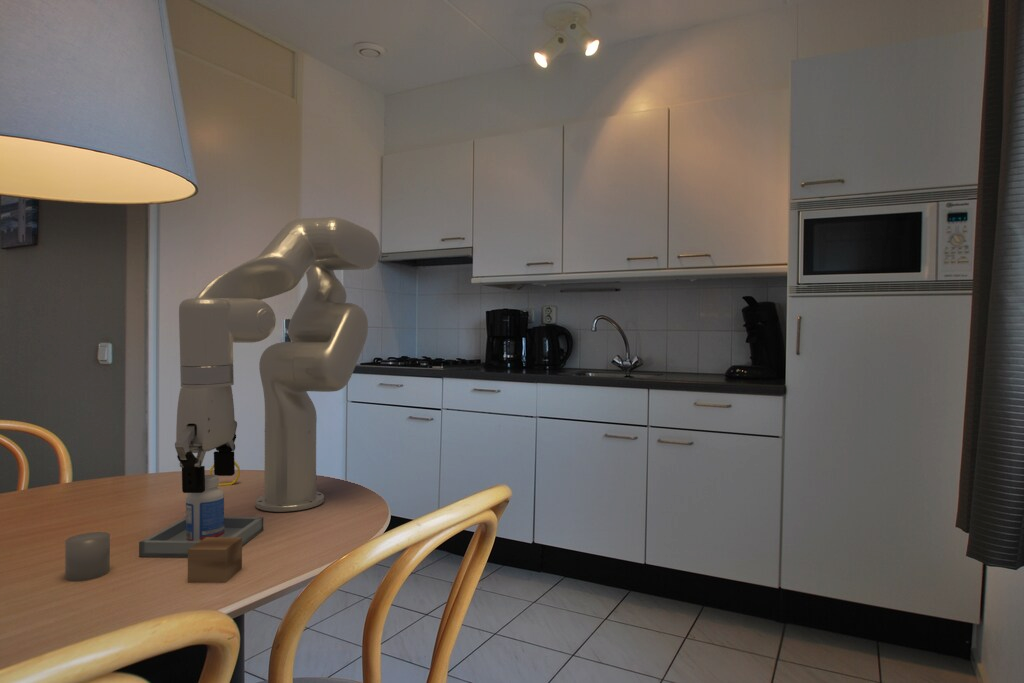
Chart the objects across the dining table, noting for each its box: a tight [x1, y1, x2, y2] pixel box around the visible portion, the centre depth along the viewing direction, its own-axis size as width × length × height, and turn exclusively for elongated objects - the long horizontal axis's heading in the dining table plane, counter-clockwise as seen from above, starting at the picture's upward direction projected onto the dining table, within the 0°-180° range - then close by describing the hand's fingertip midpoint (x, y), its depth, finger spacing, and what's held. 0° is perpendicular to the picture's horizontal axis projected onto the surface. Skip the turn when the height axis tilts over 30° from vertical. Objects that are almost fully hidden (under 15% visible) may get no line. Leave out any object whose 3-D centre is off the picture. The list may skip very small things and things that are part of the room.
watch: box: [209, 460, 241, 487], centre depth 134 cm, size 6×3×6 cm, turn 114°
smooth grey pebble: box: [64, 531, 111, 583], centre depth 83 cm, size 5×5×5 cm
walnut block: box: [187, 537, 243, 584], centre depth 83 cm, size 5×5×4 cm
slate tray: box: [138, 516, 264, 559], centre depth 96 cm, size 13×13×2 cm
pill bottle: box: [185, 474, 225, 541], centre depth 96 cm, size 6×5×10 cm
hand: (209, 483), depth 97 cm, fingers open, 9 cm apart
